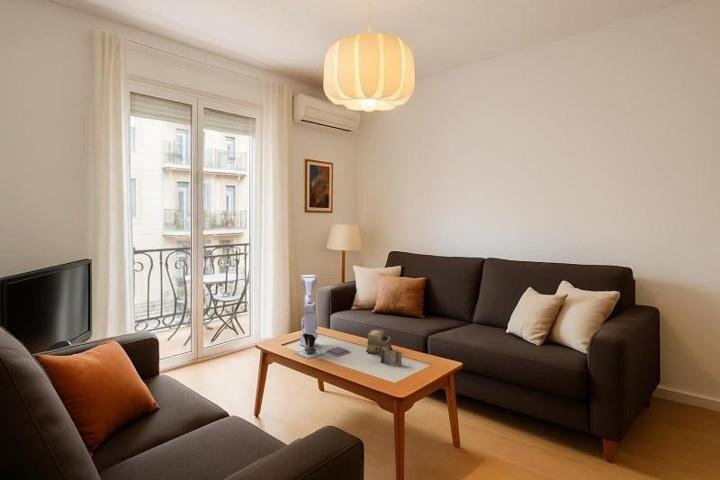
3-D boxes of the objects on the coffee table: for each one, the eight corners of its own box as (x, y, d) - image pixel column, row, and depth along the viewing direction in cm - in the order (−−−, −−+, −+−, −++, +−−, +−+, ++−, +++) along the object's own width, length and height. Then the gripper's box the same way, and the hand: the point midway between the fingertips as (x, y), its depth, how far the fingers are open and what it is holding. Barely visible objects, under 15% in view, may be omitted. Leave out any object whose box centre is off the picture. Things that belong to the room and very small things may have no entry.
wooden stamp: (304, 350, 249) (304, 338, 248) (312, 349, 252) (312, 336, 251) (308, 353, 245) (308, 340, 244) (316, 351, 248) (316, 338, 247)
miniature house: (364, 354, 246) (364, 335, 245) (369, 347, 260) (369, 329, 259) (389, 356, 242) (389, 337, 242) (393, 349, 256) (393, 330, 255)
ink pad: (324, 352, 250) (324, 350, 250) (338, 348, 258) (338, 345, 258) (337, 356, 243) (337, 354, 242) (350, 352, 250) (350, 350, 250)
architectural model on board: (380, 363, 232) (380, 346, 232) (382, 362, 235) (383, 345, 235) (399, 367, 227) (399, 349, 226) (401, 365, 229) (401, 348, 229)
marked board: (293, 353, 248) (293, 352, 248) (311, 348, 258) (311, 347, 258) (308, 359, 239) (308, 358, 238) (326, 353, 248) (326, 353, 248)
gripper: (322, 325, 244) (322, 348, 245) (309, 320, 255) (309, 342, 256) (311, 327, 239) (311, 350, 240) (299, 322, 251) (299, 344, 252)
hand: (309, 346), depth 248 cm, fingers closed on wooden stamp, 3 cm apart
